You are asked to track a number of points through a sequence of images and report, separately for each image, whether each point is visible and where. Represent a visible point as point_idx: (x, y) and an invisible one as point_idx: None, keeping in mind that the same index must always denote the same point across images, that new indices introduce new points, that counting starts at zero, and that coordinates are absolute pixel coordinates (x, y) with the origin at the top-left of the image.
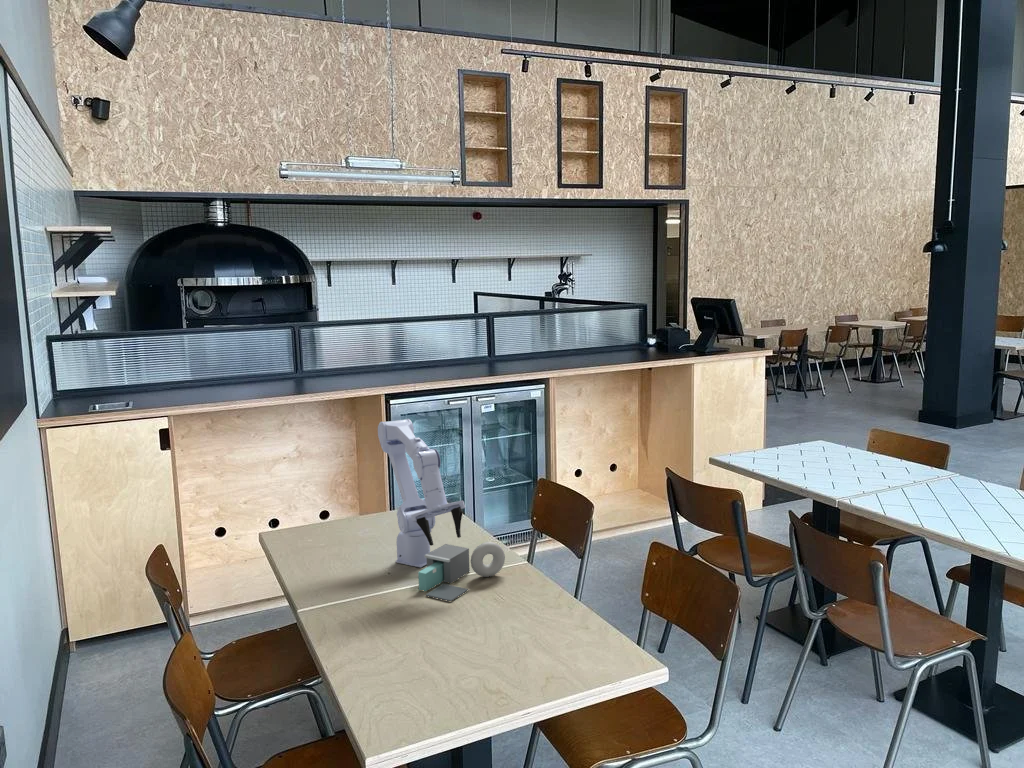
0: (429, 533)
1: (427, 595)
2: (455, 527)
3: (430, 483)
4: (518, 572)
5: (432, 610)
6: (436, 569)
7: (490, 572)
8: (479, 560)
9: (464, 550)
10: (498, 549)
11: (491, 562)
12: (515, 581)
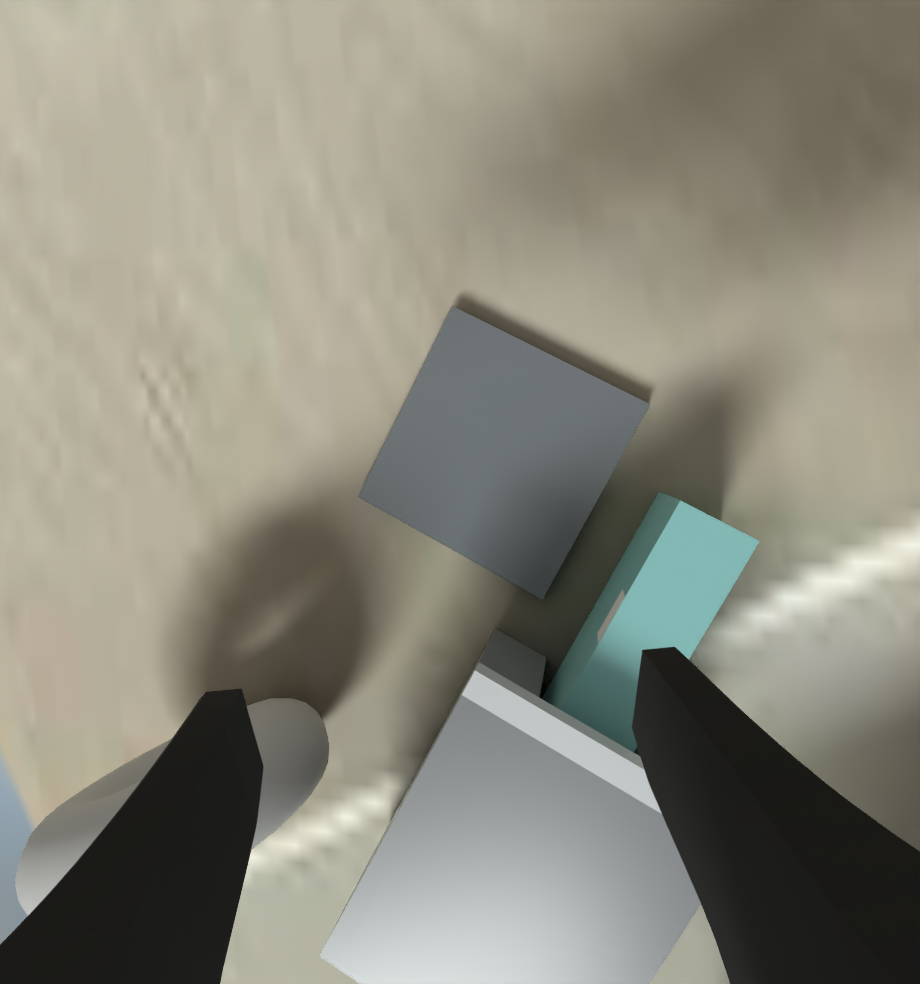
0: (722, 851)
1: (636, 398)
2: (178, 801)
3: None
4: (90, 783)
5: (566, 177)
6: (596, 640)
7: None
8: None
9: (353, 907)
10: (38, 828)
11: None
12: (97, 642)
